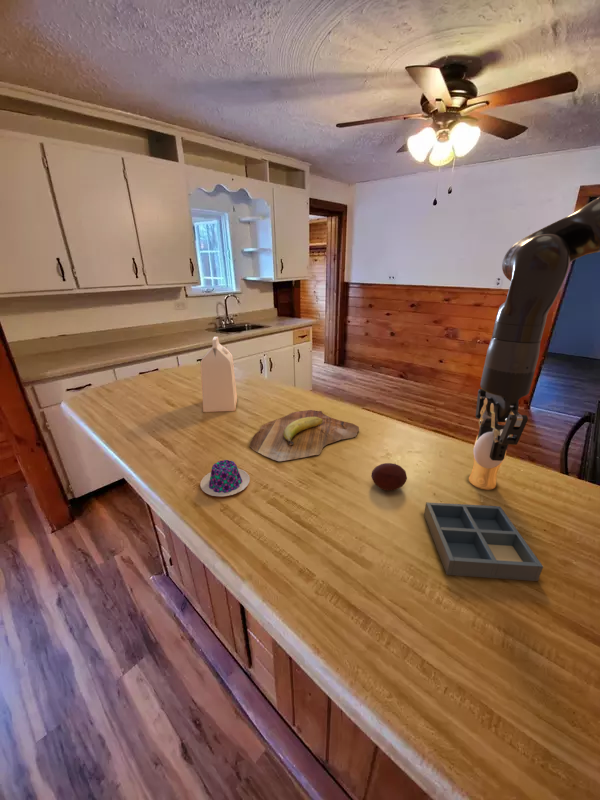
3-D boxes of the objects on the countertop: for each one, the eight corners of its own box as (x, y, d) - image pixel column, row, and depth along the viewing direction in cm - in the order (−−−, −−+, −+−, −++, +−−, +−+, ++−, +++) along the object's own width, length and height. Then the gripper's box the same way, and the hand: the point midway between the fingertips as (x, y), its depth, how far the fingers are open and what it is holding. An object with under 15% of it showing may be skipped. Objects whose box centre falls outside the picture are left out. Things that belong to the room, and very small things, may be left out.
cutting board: (308, 407, 129) (308, 397, 127) (368, 429, 111) (369, 419, 109) (232, 438, 105) (231, 427, 104) (293, 473, 88) (293, 460, 86)
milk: (208, 399, 135) (201, 335, 125) (237, 398, 136) (232, 334, 126) (203, 411, 124) (195, 342, 114) (235, 410, 125) (230, 341, 115)
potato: (403, 500, 78) (407, 478, 76) (368, 492, 81) (370, 471, 78) (406, 482, 84) (409, 461, 82) (373, 475, 87) (375, 455, 85)
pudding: (190, 491, 80) (187, 473, 78) (219, 466, 91) (217, 449, 89) (233, 504, 76) (231, 485, 74) (258, 475, 87) (257, 458, 85)
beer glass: (503, 484, 84) (517, 431, 78) (488, 494, 80) (502, 439, 74) (476, 471, 89) (488, 420, 83) (461, 480, 85) (472, 427, 80)
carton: (496, 519, 72) (500, 506, 71) (538, 581, 58) (543, 566, 57) (423, 514, 73) (426, 502, 72) (446, 574, 59) (450, 560, 58)
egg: (507, 471, 63) (517, 437, 60) (484, 476, 62) (493, 441, 59) (486, 457, 68) (493, 424, 65) (464, 461, 67) (471, 428, 64)
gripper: (558, 378, 50) (530, 474, 57) (511, 355, 64) (493, 434, 70) (506, 377, 51) (484, 471, 57) (470, 354, 64) (455, 433, 71)
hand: (489, 450), depth 64 cm, fingers closed on egg, 5 cm apart
